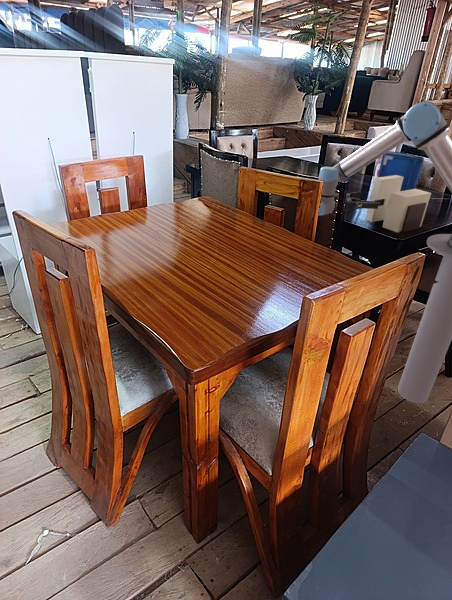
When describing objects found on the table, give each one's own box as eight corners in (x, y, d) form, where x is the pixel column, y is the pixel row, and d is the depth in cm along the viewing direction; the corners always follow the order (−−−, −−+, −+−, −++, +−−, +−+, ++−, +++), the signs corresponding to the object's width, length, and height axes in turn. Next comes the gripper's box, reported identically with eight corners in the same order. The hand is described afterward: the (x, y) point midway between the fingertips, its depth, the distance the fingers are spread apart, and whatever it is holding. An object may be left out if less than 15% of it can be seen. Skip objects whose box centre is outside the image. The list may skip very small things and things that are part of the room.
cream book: (392, 217, 198) (403, 176, 188) (371, 222, 190) (381, 179, 180) (386, 215, 201) (396, 175, 191) (364, 219, 193) (374, 177, 183)
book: (413, 201, 227) (426, 155, 215) (411, 203, 222) (423, 156, 209) (375, 194, 237) (384, 150, 224) (372, 197, 231) (381, 151, 219)
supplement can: (384, 192, 242) (390, 166, 235) (370, 190, 245) (375, 164, 238) (386, 189, 248) (392, 164, 241) (373, 187, 252) (378, 162, 244)
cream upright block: (422, 227, 187) (433, 193, 179) (398, 233, 178) (408, 197, 170) (406, 221, 193) (415, 188, 185) (382, 227, 185) (391, 192, 177)
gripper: (318, 204, 186) (349, 199, 196) (359, 220, 168) (391, 213, 178) (320, 187, 182) (352, 183, 192) (363, 202, 164) (396, 197, 174)
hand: (371, 198), depth 185 cm, fingers open, 13 cm apart
